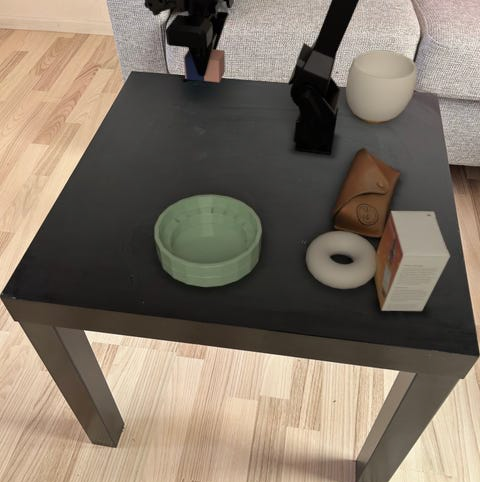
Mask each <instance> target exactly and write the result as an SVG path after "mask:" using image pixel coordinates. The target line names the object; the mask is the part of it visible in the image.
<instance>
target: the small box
mask: <svg viewBox="0 0 480 482" xmlns="http://www.w3.org/2000/svg"><path fill="white" fill-rule="evenodd" d="M380 238H381V239H380V241H379V244H378V248H377V250H376V261H377V266H376V272H375V274H374V276H373V279H374V283H375V287H376V292H377V297H378V302H379V307H380V311H382V312H385V311H386V312H391V311H392V312H422V311H423V310H424V308H425V306H426V304H427V302H428V301H429V299H430V296H431V294H432V293H433V290H434V289H435V287H436V285H437V284H438V281H439V279H440V277H441V275H442V273H443V272H444V269H445V268H446V265H447V264H448V261H449V259H450V257H451V254H450V252H449V250H448V247H447V245H446V243H445V240H444V237H443V234H442V232H441V229H440V226H439V224H438V220H437V216H436V213H435V211H426V210H425V211H424V210H391V211H390V212H389V215H388V218H387V219H386V222H385V228H384V232H383V235H382V237H380Z"/></svg>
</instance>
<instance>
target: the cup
mask: <svg viewBox="0 0 480 482" xmlns="http://www.w3.org/2000/svg"><path fill="white" fill-rule="evenodd" d="M416 85H417V64H416V62H414V60H413V59H412V58H410V57H408V56H407V55H405V54H403V53H399V52H395V51H393V50H392V51H391V50H379V49H378V50H368V51H365V52H361V53H359V54H358V55H356V57H354V59H353V60H352V62H351V64H350V67H349V69H348V74H347V79H346V85H345V97H346V104H347V105H348V106H349V109H350V110H351V112H352V114H354V115H355V116H357V118H359V119H361V120H362V121H364V122H367V123H370V124H380V123H384V122H388V121H390V120H393V119H395V118H396V117H398V116H399V115H400V114H401V113H403V111H404V110H405V109H406V108H407V106H408V104H409V103H410V101H411V99H412V98H413V95H414V91H415V88H416Z"/></svg>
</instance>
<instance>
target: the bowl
mask: <svg viewBox="0 0 480 482" xmlns="http://www.w3.org/2000/svg"><path fill="white" fill-rule="evenodd" d="M262 227H263V226H262V223H261V218H260V217H259V216H258V214H257V213H256V212H255V211H254V209H253V208H252V207H250V206H249V205H247V204H246V203H245V202H243V201H242V200H239V199H236V198H234V197H230V196H228V195H221V194H213V193H212V194H211V193H210V194H196V195H193V196H190V197H186V198H183V199H180V200H178V201H177V202H175V203H173V204H171V205H169V206H167V208H166V209H164V211H163V212H162V213H160V215H159V216H158V218H157V219H156V222H155V224H154V242H155V248H156V254H157V258H158V260H159V261H158V262H159V263H160V265H161V267H162V269H163V270H164V271H165V272H166V273H167V274H168V275H170V276H171V277H172V278H173V279H174V280H177V281H179V282H182V283H184V284H186V285H188V286H189V285H190V286H196V287H201V288H202V287H203V288H210V287H220V286H221V287H222V286H226V285H228V284H231V283H235V282H237V281H239V280H241V279H242V278H244V277H246V275H248V274H250V273H251V272H252V271H253V269H254V268H255V267H256V265H257V264H258V263H259V260H260V256H261V252H262V242H263V241H262V240H263V239H262V237H263V228H262Z"/></svg>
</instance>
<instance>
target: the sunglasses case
mask: <svg viewBox="0 0 480 482" xmlns="http://www.w3.org/2000/svg"><path fill="white" fill-rule="evenodd" d="M401 175H402V172H401V171H400V170H396V169H395V168H393V167H391V166H390V165H389V164H387V163H385V162H384V161H382V160H381V159H379V158H378V157H376V156H374V155H373V154H372V153H369V151H368V150H367V149H366V147H362V148H359V150H358V151H357V152H356V153H355V155H354V157H353V160H352V161H351V164H350V166H349V169H348V171H347V174H346V177H345V179H344V181H343V184H342V187H341V189H340V191H339V193H338V197H337V200H336V202H335V204H334V207H333V211H332V214H331V217H330V223H331V225H332V227H333V228H334V229H335V230H336V231H346V232H351V233H354V234H357V235H359V236H361V237H367V238H373V239H379V238H382V235H383V232H384V229H385V226H386V223H387V217H388V211H389V208H390V205H391V200H392V198H393V195H394V191H395V189H396V186H397V183H398V180H399V178H400V176H401Z"/></svg>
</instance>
